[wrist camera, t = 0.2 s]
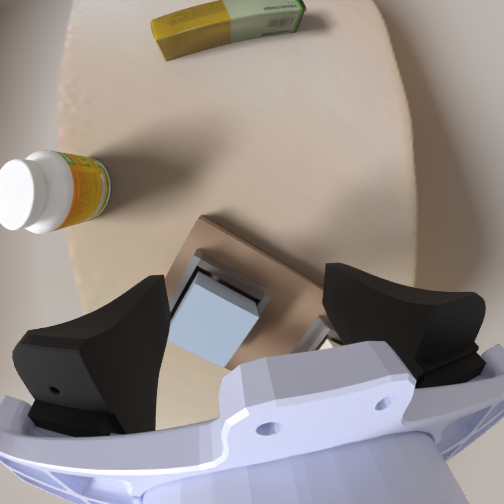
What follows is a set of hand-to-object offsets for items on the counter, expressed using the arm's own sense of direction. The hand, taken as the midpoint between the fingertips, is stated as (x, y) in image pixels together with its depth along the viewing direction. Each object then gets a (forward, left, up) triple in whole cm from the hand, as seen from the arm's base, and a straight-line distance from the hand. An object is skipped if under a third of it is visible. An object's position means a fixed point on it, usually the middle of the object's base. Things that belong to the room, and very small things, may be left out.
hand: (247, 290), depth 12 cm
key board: (-4, -6, -10) cm, 13 cm away
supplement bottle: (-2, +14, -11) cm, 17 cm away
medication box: (+15, +11, -11) cm, 22 cm away
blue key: (-4, 0, -6) cm, 8 cm away
